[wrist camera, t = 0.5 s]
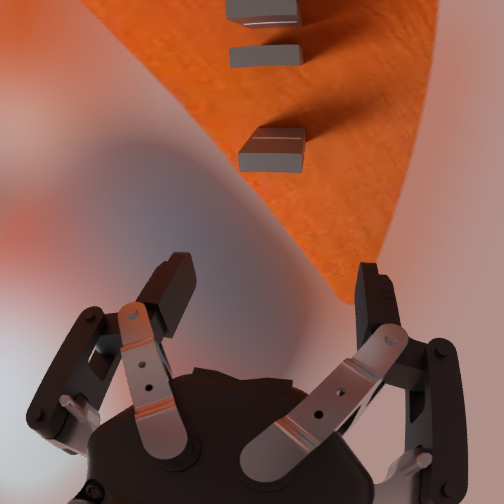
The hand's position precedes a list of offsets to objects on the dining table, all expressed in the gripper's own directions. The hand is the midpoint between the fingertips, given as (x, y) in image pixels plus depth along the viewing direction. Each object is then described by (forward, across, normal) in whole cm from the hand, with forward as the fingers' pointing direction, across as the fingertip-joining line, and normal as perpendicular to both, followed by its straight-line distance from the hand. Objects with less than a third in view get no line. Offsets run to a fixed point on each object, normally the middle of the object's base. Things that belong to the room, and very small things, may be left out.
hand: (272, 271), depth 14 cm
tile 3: (+21, +2, -13) cm, 25 cm away
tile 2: (+21, +2, -9) cm, 23 cm away
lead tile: (+21, +2, -1) cm, 21 cm away
